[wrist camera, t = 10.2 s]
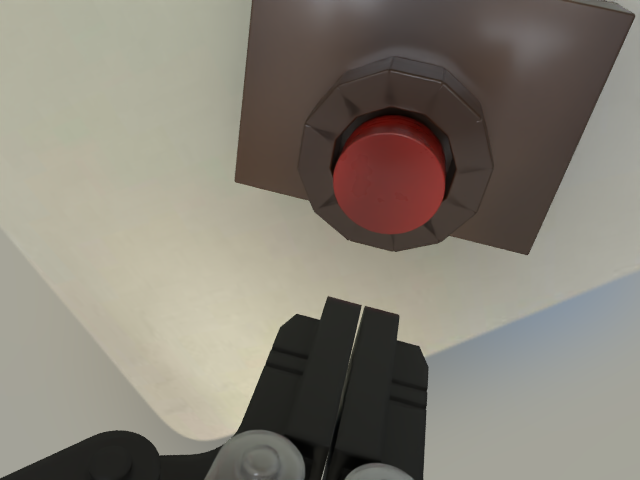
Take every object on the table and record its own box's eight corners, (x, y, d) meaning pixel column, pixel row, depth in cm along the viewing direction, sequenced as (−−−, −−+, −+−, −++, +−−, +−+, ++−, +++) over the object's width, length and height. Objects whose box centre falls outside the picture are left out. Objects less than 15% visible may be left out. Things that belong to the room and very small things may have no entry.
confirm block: (618, 3, 19) (655, 25, 15) (520, 233, 24) (531, 287, 20) (276, -69, 20) (240, -64, 16) (249, 166, 25) (217, 207, 21)
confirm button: (459, 128, 18) (460, 147, 17) (429, 221, 20) (427, 246, 19) (352, 103, 19) (343, 120, 17) (332, 197, 21) (323, 220, 19)
